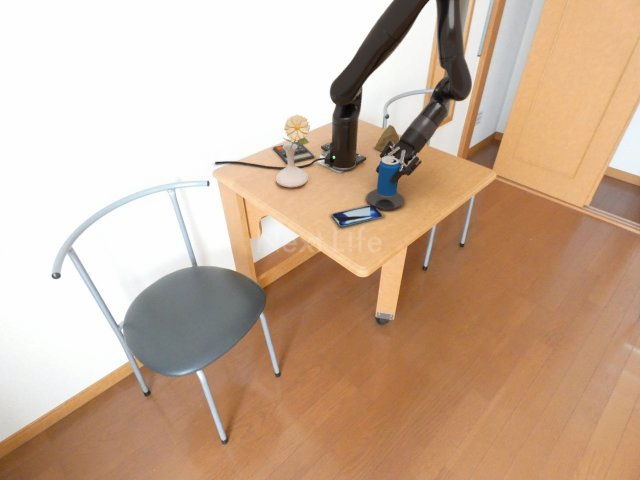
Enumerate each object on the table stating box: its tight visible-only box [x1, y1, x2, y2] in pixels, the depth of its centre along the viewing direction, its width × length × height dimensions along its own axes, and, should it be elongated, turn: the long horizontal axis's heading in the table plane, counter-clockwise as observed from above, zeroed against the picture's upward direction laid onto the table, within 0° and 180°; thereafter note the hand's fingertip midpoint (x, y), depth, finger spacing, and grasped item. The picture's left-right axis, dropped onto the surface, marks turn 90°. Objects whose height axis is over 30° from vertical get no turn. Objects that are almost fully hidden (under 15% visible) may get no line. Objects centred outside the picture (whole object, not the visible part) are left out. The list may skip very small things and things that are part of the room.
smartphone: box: [331, 204, 384, 229], centre depth 116 cm, size 7×1×15 cm
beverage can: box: [376, 155, 400, 197], centre depth 117 cm, size 6×6×12 cm
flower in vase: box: [275, 113, 311, 189], centre depth 124 cm, size 13×11×25 cm
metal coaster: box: [366, 188, 404, 212], centre depth 123 cm, size 12×12×1 cm
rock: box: [374, 124, 400, 152], centre depth 149 cm, size 11×9×10 cm
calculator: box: [273, 141, 315, 165], centre depth 150 cm, size 12×1×15 cm
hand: (384, 177), depth 117 cm, fingers closed on beverage can, 6 cm apart
